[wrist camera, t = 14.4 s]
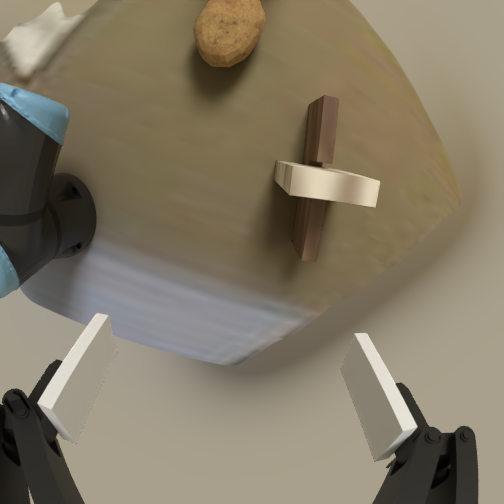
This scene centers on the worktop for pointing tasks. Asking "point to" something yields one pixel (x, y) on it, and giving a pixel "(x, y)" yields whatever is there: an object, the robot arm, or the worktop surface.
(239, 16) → the potato
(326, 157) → the walnut board
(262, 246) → the worktop surface
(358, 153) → the worktop surface
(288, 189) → the birch plate
